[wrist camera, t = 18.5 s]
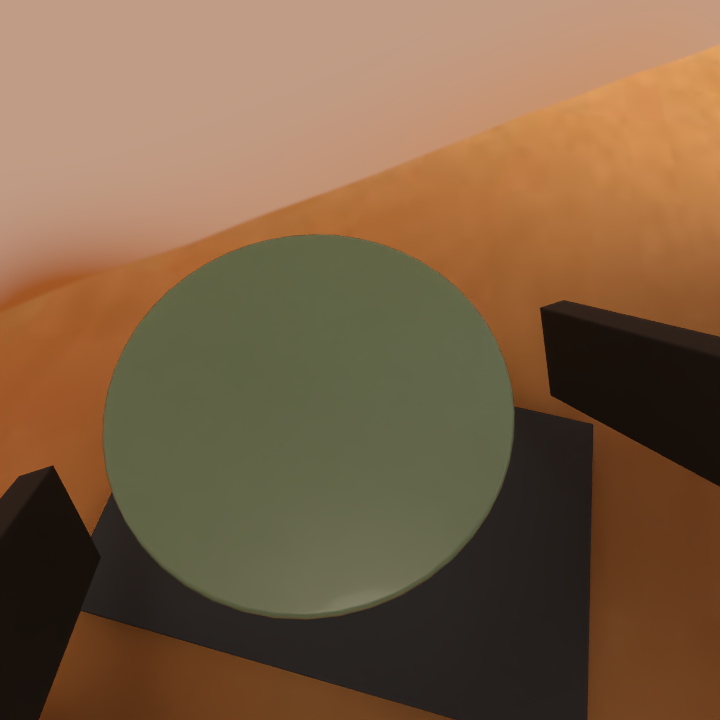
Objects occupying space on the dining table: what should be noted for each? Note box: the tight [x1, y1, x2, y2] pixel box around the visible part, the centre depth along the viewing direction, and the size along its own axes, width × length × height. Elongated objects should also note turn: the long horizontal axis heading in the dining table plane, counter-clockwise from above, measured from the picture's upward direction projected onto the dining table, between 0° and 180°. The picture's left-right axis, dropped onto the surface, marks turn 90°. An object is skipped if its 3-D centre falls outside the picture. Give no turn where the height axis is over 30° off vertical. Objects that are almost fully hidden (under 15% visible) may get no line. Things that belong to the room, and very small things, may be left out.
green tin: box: [103, 234, 515, 620], centre depth 12 cm, size 7×7×10 cm
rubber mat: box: [80, 407, 593, 720], centre depth 17 cm, size 16×10×1 cm, turn 76°
